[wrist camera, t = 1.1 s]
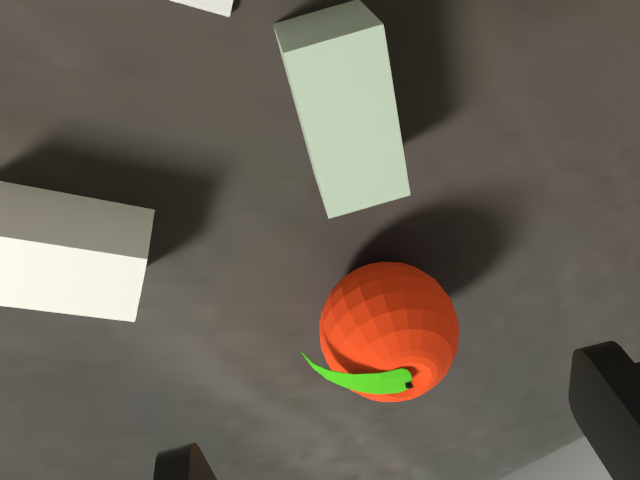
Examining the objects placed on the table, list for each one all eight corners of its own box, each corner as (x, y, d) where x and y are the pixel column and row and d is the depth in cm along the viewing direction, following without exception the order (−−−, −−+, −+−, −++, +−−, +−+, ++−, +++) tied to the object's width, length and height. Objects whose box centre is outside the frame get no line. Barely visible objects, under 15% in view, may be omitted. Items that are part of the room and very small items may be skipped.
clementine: (289, 338, 32) (306, 446, 26) (290, 239, 28) (311, 341, 22) (422, 326, 33) (467, 427, 27) (442, 230, 29) (499, 324, 23)
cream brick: (-15, 242, 25) (-48, 299, 22) (-14, 176, 23) (-50, 228, 20) (143, 266, 27) (134, 321, 24) (155, 207, 26) (147, 259, 22)
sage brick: (272, 23, 22) (283, 53, 18) (357, -2, 22) (383, 23, 18) (313, 172, 26) (328, 218, 23) (385, 152, 26) (410, 195, 23)
